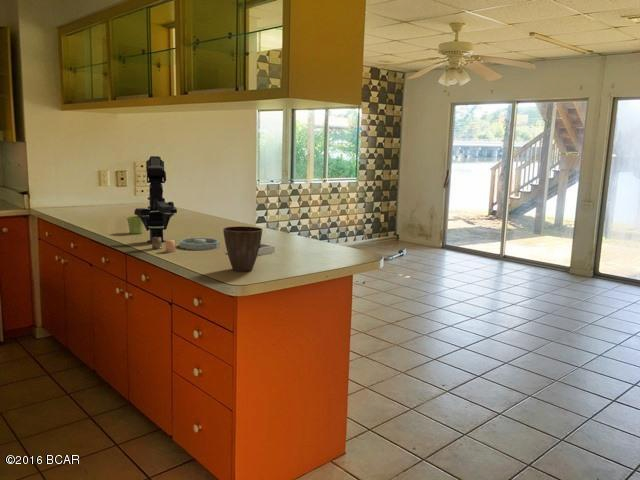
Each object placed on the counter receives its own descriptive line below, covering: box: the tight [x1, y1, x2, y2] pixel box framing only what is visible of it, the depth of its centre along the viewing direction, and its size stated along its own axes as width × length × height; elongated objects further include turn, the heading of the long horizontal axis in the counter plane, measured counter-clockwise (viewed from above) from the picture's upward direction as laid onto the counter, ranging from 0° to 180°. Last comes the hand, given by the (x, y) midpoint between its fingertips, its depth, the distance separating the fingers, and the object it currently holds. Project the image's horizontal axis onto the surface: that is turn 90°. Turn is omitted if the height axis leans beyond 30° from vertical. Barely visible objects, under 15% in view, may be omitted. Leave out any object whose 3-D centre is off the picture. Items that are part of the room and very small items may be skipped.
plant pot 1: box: [125, 215, 144, 235], centre depth 283 cm, size 9×9×9 cm
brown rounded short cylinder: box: [151, 237, 162, 250], centre depth 243 cm, size 4×4×5 cm
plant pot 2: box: [222, 225, 263, 272], centre depth 206 cm, size 15×15×16 cm
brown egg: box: [164, 239, 176, 254], centre depth 237 cm, size 4×4×5 cm
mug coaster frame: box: [257, 242, 276, 257], centre depth 242 cm, size 14×16×3 cm
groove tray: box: [179, 237, 221, 251], centre depth 252 cm, size 18×18×3 cm
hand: (156, 229), depth 242 cm, fingers open, 9 cm apart
